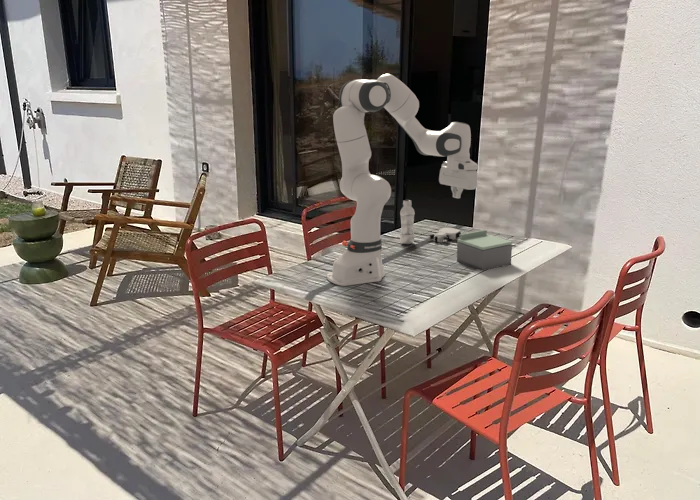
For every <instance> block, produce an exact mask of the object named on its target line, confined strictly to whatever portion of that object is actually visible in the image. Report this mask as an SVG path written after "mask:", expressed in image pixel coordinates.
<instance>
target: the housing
mask: <svg viewBox="0 0 700 500" xmlns="http://www.w3.org/2000/svg"><path fill="white" fill-rule="evenodd" d="M456 246H457V247H456V248H457V249H456V262H458V263H461V264H463V265H465V266H469V267H471V268H474V269H476V270H479V271H481V272H483V271H488V270H491V269H495V268H496V269H497V268H500V267H504V266H509V265H512V256H513V255H512V254H513V253H512V252H513V251H512V250H513V245H512V244H510V245H505V246H500V247H495V248H490V249H486V250H481V249H478V248H475V247H472V246H469V245H466V244H463V243H460V242H456Z"/></svg>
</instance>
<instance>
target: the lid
mask: <svg viewBox="0 0 700 500" xmlns="http://www.w3.org/2000/svg"><path fill="white" fill-rule="evenodd" d="M462 233H463V232H462ZM462 233H461V234H460V237H459V238H457V239H456V240H457V242H460V243H463V244H466V245H469V246H472V247H475V248H478V249H481V250H486V249H490V248H495V247H500V246H505V245H510V244H511V245H512V244H513V241H512V240H508V239H505V238H501V237H497V236H494V235H491V234H488V230H487V229H479V230H474V231H469V232H464V233H463V234H462ZM457 242H456V243H457Z"/></svg>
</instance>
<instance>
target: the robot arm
mask: <svg viewBox="0 0 700 500" xmlns="http://www.w3.org/2000/svg"><path fill="white" fill-rule="evenodd" d="M419 108H420V101H419V99H418V98H417V96H416V94H415V93H414V92H413V91H412V90H411V89H410V88H409V87H408V86H407V84H405V83H404V82H402V81H401V80H400V79H399V78H398V77H396V76H395V75H393V74H390V73H385V74H382V75H380V76H379V77H378V78H377V79H366V78H365V79H364V78H361V79H353V80H352V79H351V80H349V81H347V82H345V83H344V84H343V85H341V88H340V90H339V94H338V108H337V109H335V111H334V113H333V115H332V119H333V120H332V121H333V130H334V135H335V140H336V143H337V148H338V153H339V156H340V159H341V172H342V173H341V175H342V177H341V179H340V181H339V189H340V192H341V193H342V195H344V197H346V198H347V199H349V200H352V201H355V202H356V208H355V212H354V214H353V215H352V217H351V218H350V240H349V241H346V240H342V242H341V245H342V246H343V247H345V248H346V247H347V248H346V249H345V251H344V252H343V253H342V254H341V255H340V256H338V257H337V259H335V260H334V262H333V264H332V271H331V272H329V273H327V274H326V280H327V281H329V282H331V284H332V283H333V285H334V284H335V285H338V286H343V287H344V286H346V287H347V286H353V285H354V286H355V285H361V284H362V285H363V284H369V283H375V282H380V281H382V278H384V277H385V275H386V272H385V268H384V265H383V260H382V259H383V258H382V249H383V245H382V243H383V242H382V238H381V217H382V213H383V210H384V206H385V204H386V203H387V202H388V201H389V200H390V198H391V195H392V187H391V185H390V182H389V181H387V180H386V179H385V178H384V177H382V176H379V175H376V174H373V173H372V174H371V172H370V170H369V162H370V159H371V157H372V150H371V145H370V142H369V141H370V140H369V137H368V133H367V129H366V126H365V116H366V115H365V114H366V113H376V112H378V111H380V110H382V109H385V110H386V111H387V113H389V115H391V117H392V118H394V119H395V121H396V122H397V123H398V125H399V126H400V128H402V130H404V132H405V133H406V134H407V135H408V137H409V138H410V139H411V140H412V143H413V145H414V146H415V150H416V151H417V153H419V154H420V155H423V156H433V157H446V161H443V162H442V164H441V168H440V169H439V176H438V182H439V184H440V185H445V186H450V190H451V193H452V198H454V199H461V195H462V194H463V191H464V190H468V191H469V190H476V189H477V187H478V175H479V174H478V171H477V170H479V164H477V162H475V161H473V160H472V159H471V158H470V157H471V154H470V148H471V145H472V144H471V143H472V142H471V141H472V138H471V137H472V134H471V127H470V125H469V124H468V123H465V122H459V121H452V122H450V124H449V125H448V126H447V127H445V128H443V129H441V130H431V129H428V128H425V127H424V126H423V125H422V124H421V123H420V121H419V120H418V119H417V118H416V115H417V113H418V111H419Z"/></svg>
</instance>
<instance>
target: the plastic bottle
mask: <svg viewBox="0 0 700 500" xmlns="http://www.w3.org/2000/svg"><path fill="white" fill-rule="evenodd" d="M415 212H416V211H415V209H414V208H413V206H412V200H410V199H405V200H402V207H401V209H400V212H399V214H400V225H401V227H400V236H399V241H400V243H401V244H402V245H411V244H414V242H415V239H416V238H415V233H414V221H415V214H416V213H415Z"/></svg>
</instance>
